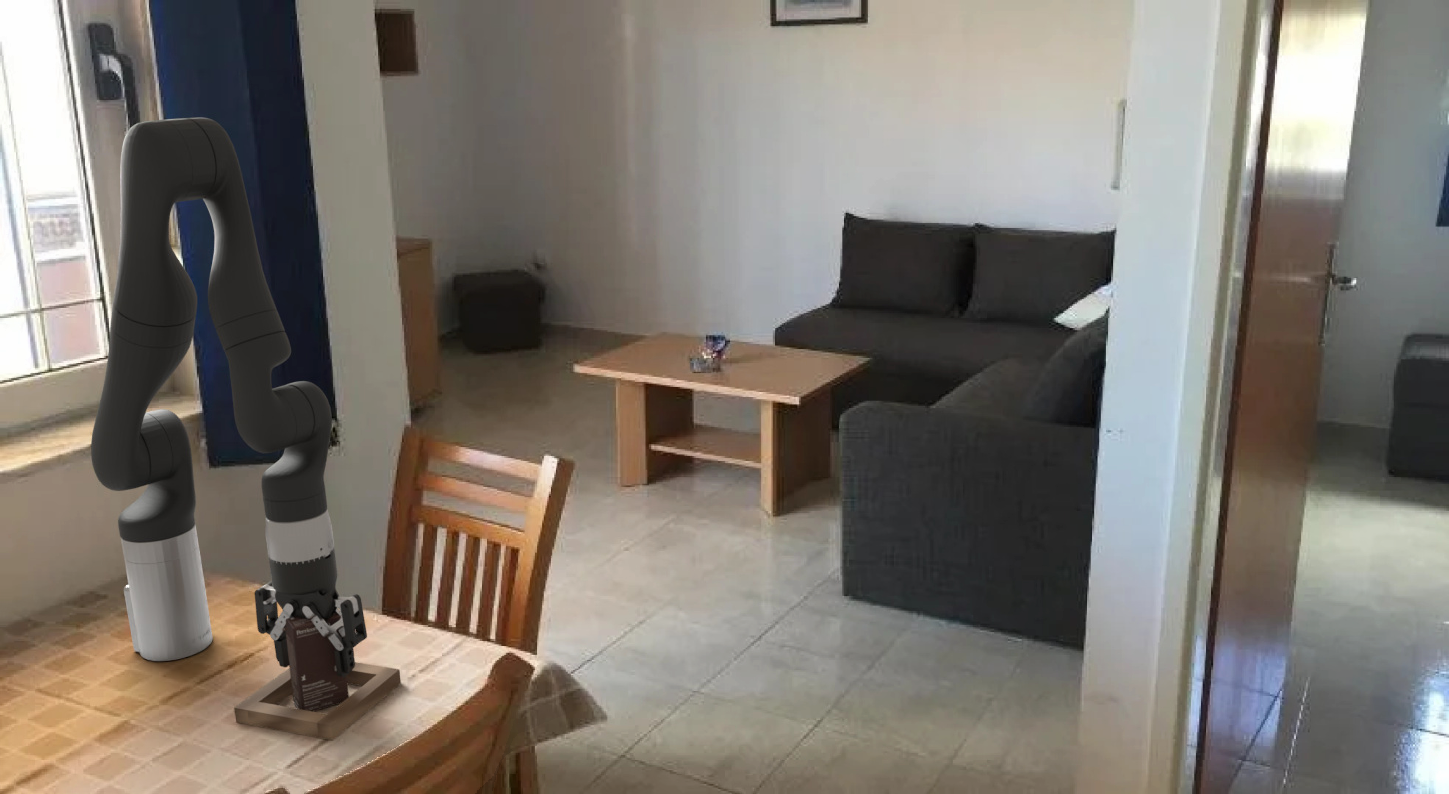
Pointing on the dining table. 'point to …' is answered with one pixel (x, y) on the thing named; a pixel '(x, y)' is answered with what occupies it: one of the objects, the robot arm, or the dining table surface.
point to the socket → (327, 726)
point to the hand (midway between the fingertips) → (316, 669)
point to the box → (313, 665)
